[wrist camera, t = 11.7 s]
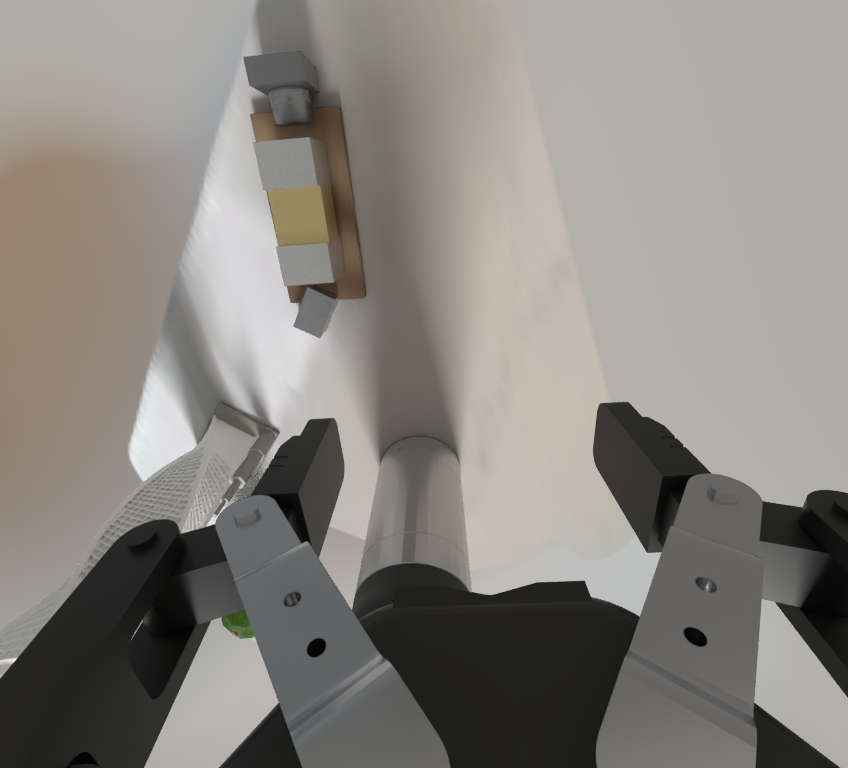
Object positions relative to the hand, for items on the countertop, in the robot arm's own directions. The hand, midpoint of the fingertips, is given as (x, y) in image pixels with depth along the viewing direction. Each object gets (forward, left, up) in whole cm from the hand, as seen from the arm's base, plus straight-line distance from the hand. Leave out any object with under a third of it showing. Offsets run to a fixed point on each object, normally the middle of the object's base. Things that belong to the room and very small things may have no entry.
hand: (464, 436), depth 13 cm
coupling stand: (+6, +11, -28) cm, 31 cm away
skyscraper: (-17, +25, -28) cm, 41 cm away
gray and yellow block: (+6, +11, -27) cm, 30 cm away
